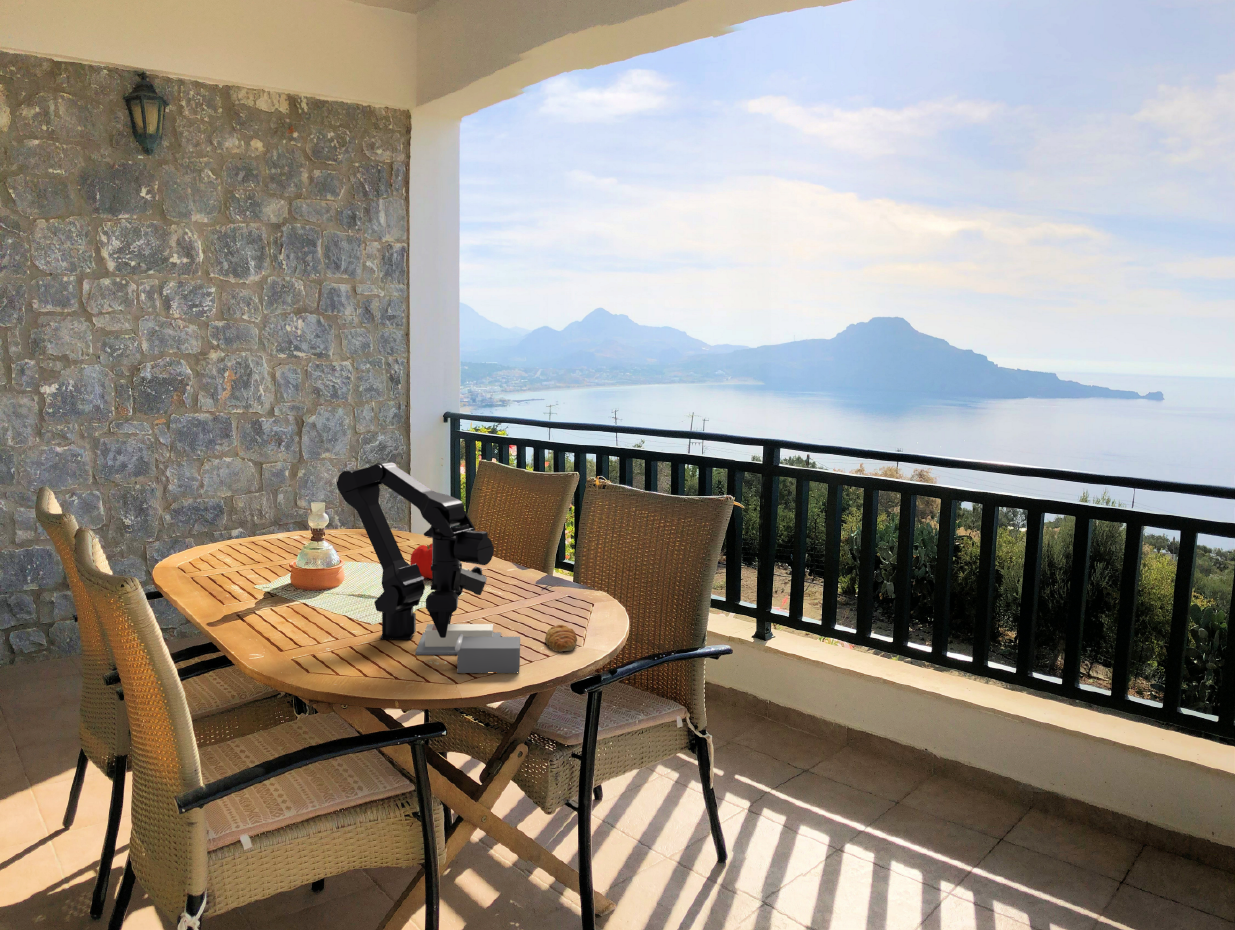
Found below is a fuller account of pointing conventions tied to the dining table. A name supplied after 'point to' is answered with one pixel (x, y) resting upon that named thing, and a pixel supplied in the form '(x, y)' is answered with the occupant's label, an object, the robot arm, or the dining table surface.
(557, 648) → the pastry
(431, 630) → the white block
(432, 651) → the mat
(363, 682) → the dining table surface
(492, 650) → the block
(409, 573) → the robot arm
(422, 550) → the tomato
